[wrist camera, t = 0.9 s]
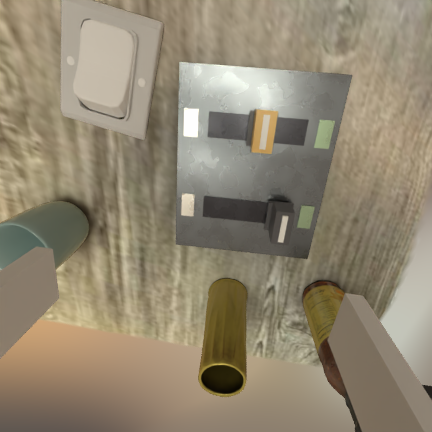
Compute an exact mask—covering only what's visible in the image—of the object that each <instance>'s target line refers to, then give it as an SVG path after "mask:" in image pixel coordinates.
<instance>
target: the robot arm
mask: <svg viewBox="0 0 432 432" xmlns="http://www.w3.org/2000/svg"><path fill="white" fill-rule="evenodd" d="M58 299H59V292H58V284H57V277H56V269H55V262H54V255H53V249H50V248H43V247H35V248H33V249H32V250H30V251H29V252H27V253H26V254H24V255H23V256H21V257H20V258H18V259H17V260H15V261H14V262H12V263H11V264H9V265H8V266H6V267H5V268H3V269H2V270H0V358H1V357H2V356H3V355H4V354H5V353H6V352H7V351H8V350H9V349H10V348H11V347H12V346H13V345H14V344H15V343H16V342H17V341H18V340H19V339H20V338H21V337H22V336H23V335H24V334H25V333H26V332H27V331H28V330H29V329H30V327H32V325H33V324H34V323H35V322H36V321H37V320H38V319H39V318H40V317H41V316H42V315H43V314H44V313H45V312H46V311H47V310H48V309H49V308H50V307H51V306H52V305H53V304H54V303H55V302H56V301H57V300H58ZM328 343H329V345H330V348H331V350H332V353H333V356H334V358H335V361H336V364H337V366H338V369H339V372H340V374H341V377H342V380H343V382H344V385H345V388H346V390H347V393H348V396H349V398H350V401H351V404H352V406H353V409H354V412H355V414H356V417H357V420H358V422H359V425H360V428H361V430H362V432H432V386H426V385H421V383H420V382H419V380H418V379H417V377H416V376H415V374H414V373H413V371H412V370H411V368H410V366H409V365H408V363H407V362H406V360H405V359H404V357H403V356H402V354H401V353H400V351H399V350H398V348H397V347H396V345H395V344H394V342H393V341H392V339H391V338H390V336H389V335H388V333H387V331H386V330H385V328H384V327H383V325H382V324H381V322H380V321H379V319H378V318H377V316H376V315H375V313H374V312H373V310H372V309H371V307H370V306H369V304H368V303H367V301H366V300H365V298H364V296H361V295H355V294H348V293H345V295H344V298H343V300H342V303H341V306H340V308H339V311H338V314H337V316H336V319H335V322H334V324H333V327H332V330H331V332H330V335H329V338H328Z"/></svg>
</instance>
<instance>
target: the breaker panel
mask: <svg viewBox="0 0 432 432" xmlns="http://www.w3.org/2000/svg"><path fill="white" fill-rule="evenodd" d="M351 79H352V75H345V74H332V73H319V72H306V71H293V70H279V69H266V68H253V67H240V66H226V65H213V64H200V63H187V62H179V110H178V158H177V206H176V244H178V245H187V246H196V247H205V248H214V249H223V250H232V251H241V252H250V253H259V254H268V255H277V256H286V257H295V258H304V259H308V255H309V250H310V246H311V242H312V238H313V234H314V230H315V226H316V222H317V218H318V214H319V210H320V206H321V201H322V197H323V193H324V189H325V185H326V181H327V177H328V173H329V169H330V165H331V161H332V156H333V152H334V148H335V144H336V140H337V136H338V132H339V128H340V124H341V120H342V116H343V112H344V107H345V103H346V99H347V95H348V91H349V87H350V83H351ZM255 109H258V110H270V111H278V113H279V115H278V121H277V127H276V134H275V140H274V146H273V148H272V154H265V153H254V152H251V148H250V147H251V146H246V141H247V132H248V124H249V115H250V111H255ZM268 201H277V202H287V203H293V204H294V208H293V210H294V212H295V217H294V222H293V227H292V231H291V236H290V241H289V246H288V245H278V244H271V242H270V237H269V233H268V230H264V224H265V217H266V211H267V205H268Z"/></svg>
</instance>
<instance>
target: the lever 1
mask: <svg viewBox="0 0 432 432" xmlns="http://www.w3.org/2000/svg"><path fill="white" fill-rule="evenodd" d="M278 115H279V113H278V111H270V110H258V109H255V111H250V115H249V124H248V132H247V141H246V146H251V147H250V148H251V152H254V153H265V154H272V148H273V146H274V140H275V134H276V127H277V121H278Z"/></svg>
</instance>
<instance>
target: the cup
mask: <svg viewBox="0 0 432 432" xmlns="http://www.w3.org/2000/svg"><path fill="white" fill-rule="evenodd" d="M88 232H89V222H88V219H87V217H86V216H85V214H84V213H83V212H82V211H81V210H80V209H79V208H78V207H77V206H75V205H74V204H72V203H69V202H65V201H53V202H48V203H44V204H41V205H38V206H36V207H33V208H31V209H28V210H26V211H24V212H22V213H20V214H17V215H15V216H13V217H11V218H9V219H7V220H5V221H3V222H1V223H0V270H2V269H3V268H5V267H6V266H8V265H9V264H11V263H12V262H14V261H15V260H17V259H18V258H20V257H21V256H23V255H24V254H26V253H27V252H29V251H30V250H32V249H33V248H35V247H43V248H50V249H53V255H54V262H55V269H57V268H58V267H59V266H61V265H62V264H63V263H64V262H65V261H66V260H67V259H68V258H69V257H71V256H72V255H73V254H74V253H75V252H76V251H77V250H78V249H79V247H80V246H81V245H82V244H83V242H84V241H85V239H86V238H87V235H88Z"/></svg>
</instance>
